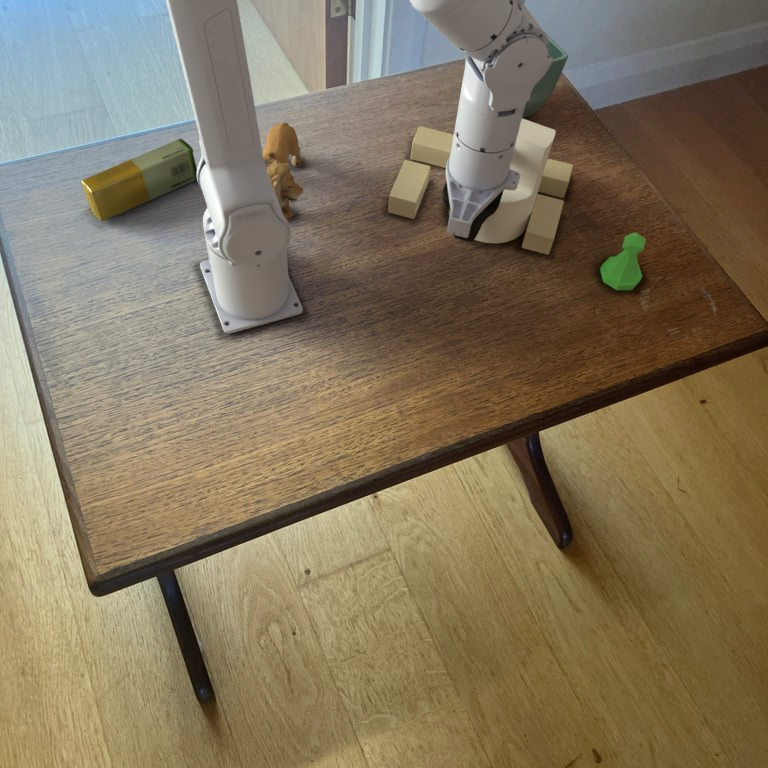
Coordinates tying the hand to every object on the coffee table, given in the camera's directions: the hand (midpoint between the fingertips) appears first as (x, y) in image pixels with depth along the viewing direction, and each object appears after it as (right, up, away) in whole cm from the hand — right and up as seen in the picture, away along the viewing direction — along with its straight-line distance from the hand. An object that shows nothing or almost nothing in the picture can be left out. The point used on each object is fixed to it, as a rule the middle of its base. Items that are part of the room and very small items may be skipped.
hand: (464, 236), depth 86 cm
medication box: (-34, +5, +3) cm, 35 cm away
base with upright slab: (+3, +3, +5) cm, 7 cm away
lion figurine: (-20, +5, +4) cm, 21 cm away
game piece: (+16, -4, +1) cm, 17 cm away
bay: (+2, +6, +6) cm, 9 cm away
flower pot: (+6, +18, +15) cm, 24 cm away
